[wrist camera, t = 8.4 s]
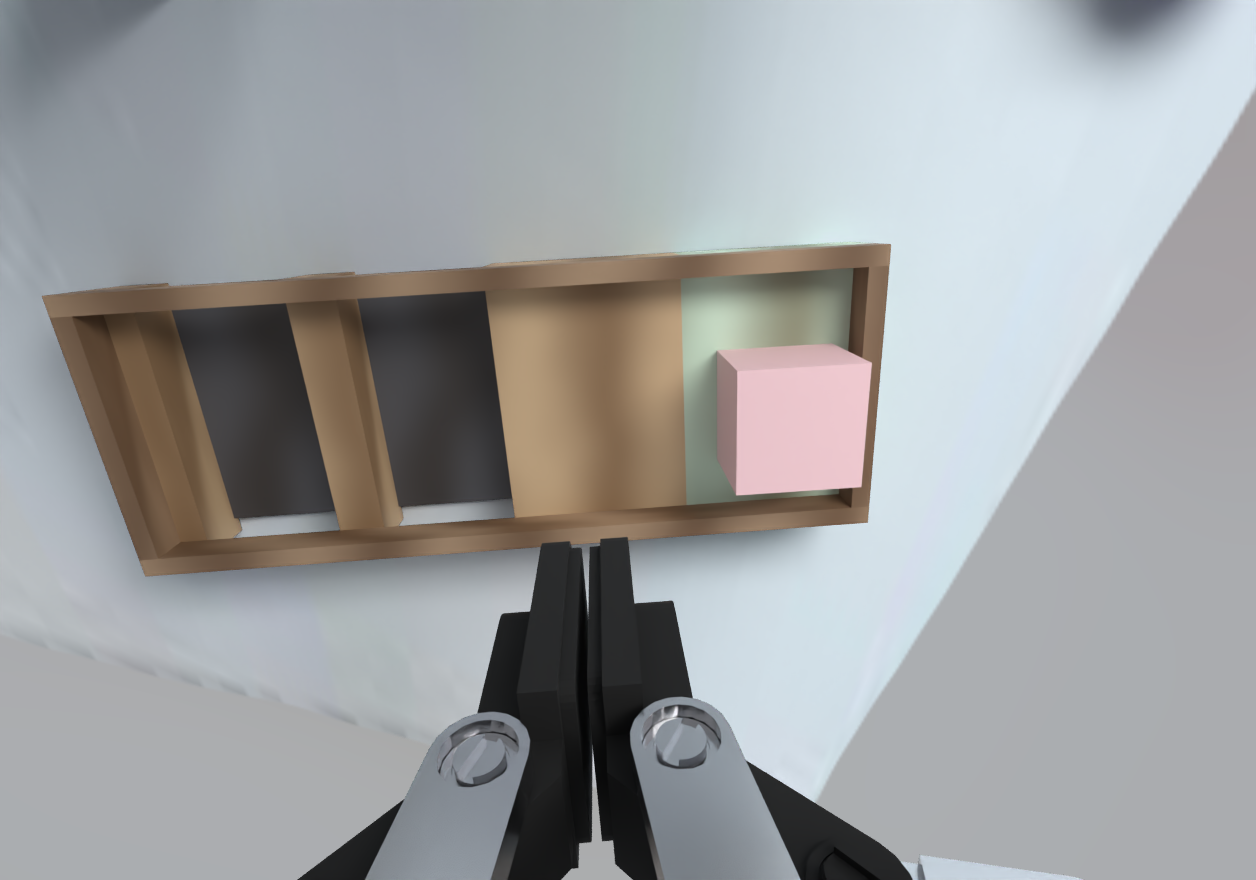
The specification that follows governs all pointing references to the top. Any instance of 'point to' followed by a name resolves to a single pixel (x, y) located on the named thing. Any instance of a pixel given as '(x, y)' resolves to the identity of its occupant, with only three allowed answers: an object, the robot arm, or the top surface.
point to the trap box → (453, 400)
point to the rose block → (791, 418)
